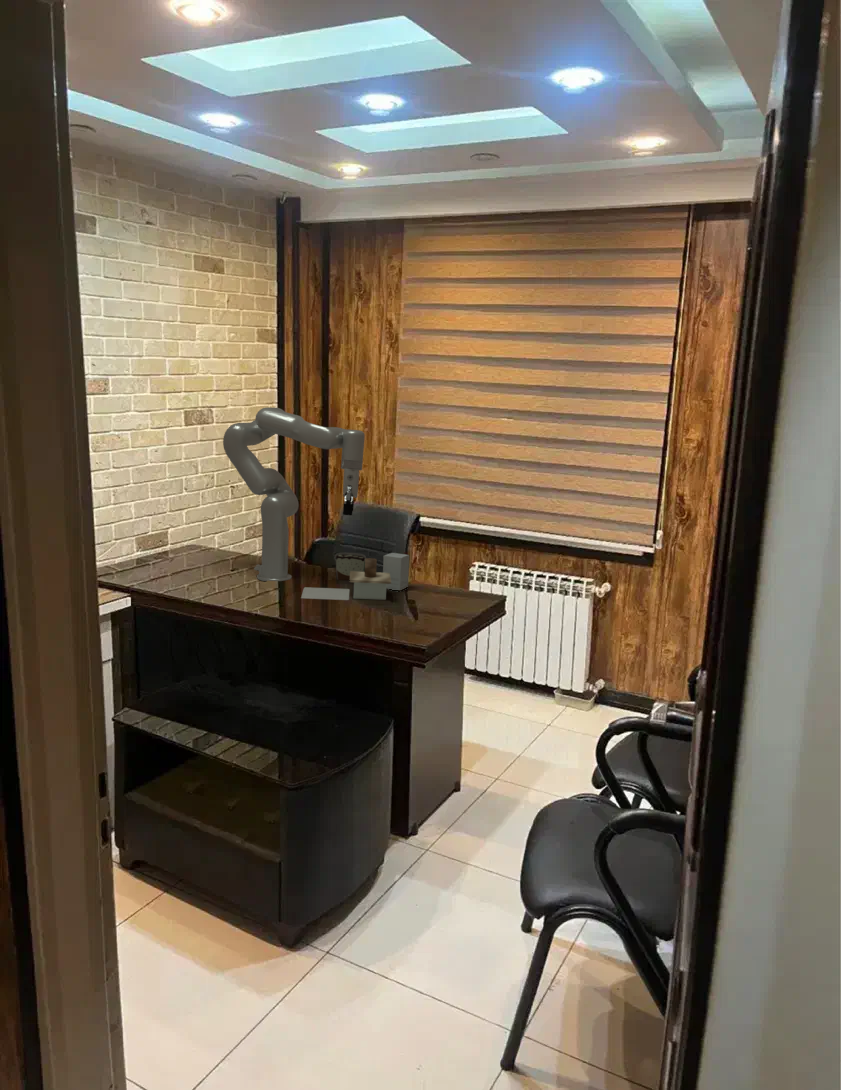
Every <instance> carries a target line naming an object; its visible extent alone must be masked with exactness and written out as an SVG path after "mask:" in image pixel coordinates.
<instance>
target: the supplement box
mask: <svg viewBox="0 0 841 1090" xmlns="http://www.w3.org/2000/svg"><path fill="white" fill-rule="evenodd" d="M382 557H383V561H382V562H383V563H382V564H383V565H382V573H390V578H391V584H387V585H386V590H387V589H388V590H389V589H392V590H402V589H404V588H406V587H409V573H410V572H409V570H410V555H409V554H404V553H399V552H398V553H397V552H390V553H387V554H385V555H383V556H382ZM392 590H391V591H392Z"/></svg>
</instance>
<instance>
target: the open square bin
mask: <svg viewBox="0 0 841 1090" xmlns="http://www.w3.org/2000/svg"><path fill="white" fill-rule="evenodd" d="M386 585H387V584H382V583H357V582H353V596H352V598H353V599H356V600H359V599H361V600H385V601H386V600H387V588H386Z"/></svg>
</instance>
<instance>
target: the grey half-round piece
mask: <svg viewBox="0 0 841 1090" xmlns="http://www.w3.org/2000/svg"><path fill="white" fill-rule="evenodd" d="M366 558H367V557H366V555H365V554H363V553H360V552H359V553H358V552H357V553H356V552H338V553H336V554H335V555H334V558H333V560H334V561H335V570H336V581H348V580H350V571H357V572H365V559H366Z"/></svg>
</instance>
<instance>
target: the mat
mask: <svg viewBox="0 0 841 1090" xmlns="http://www.w3.org/2000/svg"><path fill="white" fill-rule="evenodd" d="M300 599H308V600H309V599H311V600H312V599H313V600H336V601H350V588H333V587H310V586H309V587H306V586H305V587H304V588H303V590H302V594H301V597H300Z"/></svg>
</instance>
